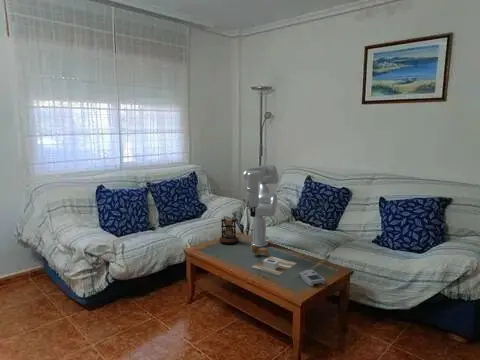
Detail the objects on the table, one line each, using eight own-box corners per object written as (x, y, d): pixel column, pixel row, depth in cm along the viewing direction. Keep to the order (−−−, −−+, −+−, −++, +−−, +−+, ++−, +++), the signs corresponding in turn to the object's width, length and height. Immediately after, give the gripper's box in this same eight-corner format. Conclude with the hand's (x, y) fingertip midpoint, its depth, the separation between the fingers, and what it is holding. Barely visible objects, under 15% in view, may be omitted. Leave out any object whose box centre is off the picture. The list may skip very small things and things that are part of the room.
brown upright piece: (239, 239, 272) (239, 214, 269) (237, 245, 258) (237, 219, 255) (220, 238, 274) (220, 214, 271) (217, 244, 259) (217, 219, 256)
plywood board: (270, 258, 232) (270, 256, 232) (296, 265, 220) (296, 263, 220) (251, 268, 215) (251, 266, 215) (279, 277, 203) (279, 274, 203)
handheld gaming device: (312, 274, 207) (312, 268, 206) (325, 285, 193) (325, 278, 192) (298, 277, 204) (298, 271, 203) (311, 287, 190) (311, 281, 190)
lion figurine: (249, 258, 231) (249, 246, 230) (250, 256, 237) (250, 243, 235) (271, 259, 231) (271, 246, 229) (271, 256, 236) (271, 243, 234)
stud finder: (267, 264, 218) (267, 258, 217) (278, 267, 213) (278, 260, 213) (263, 267, 214) (263, 260, 213) (274, 270, 209) (274, 263, 209)
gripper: (254, 188, 241) (254, 213, 244) (241, 191, 229) (241, 218, 232) (263, 189, 236) (263, 215, 239) (250, 192, 225) (250, 219, 228)
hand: (252, 216), depth 236 cm, fingers closed
